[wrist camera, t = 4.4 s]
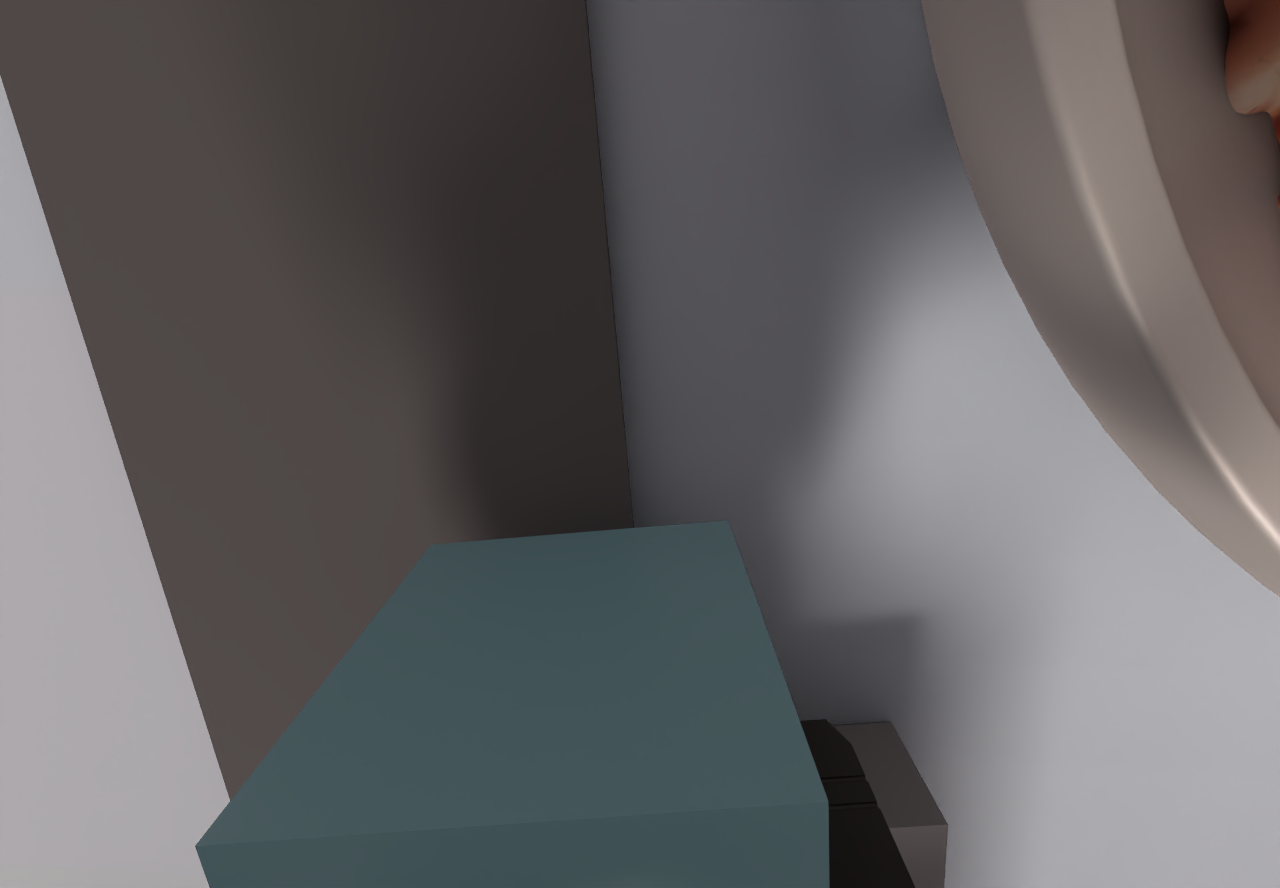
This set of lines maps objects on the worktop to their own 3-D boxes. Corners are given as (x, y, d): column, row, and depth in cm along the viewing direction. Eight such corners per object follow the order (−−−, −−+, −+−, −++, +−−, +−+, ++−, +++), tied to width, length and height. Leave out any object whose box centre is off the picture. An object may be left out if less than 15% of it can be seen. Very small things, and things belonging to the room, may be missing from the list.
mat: (560, -286, 9) (556, -314, 8) (656, 776, 13) (656, 791, 13) (-68, -219, 9) (-101, -242, 8) (247, 802, 14) (235, 817, 13)
